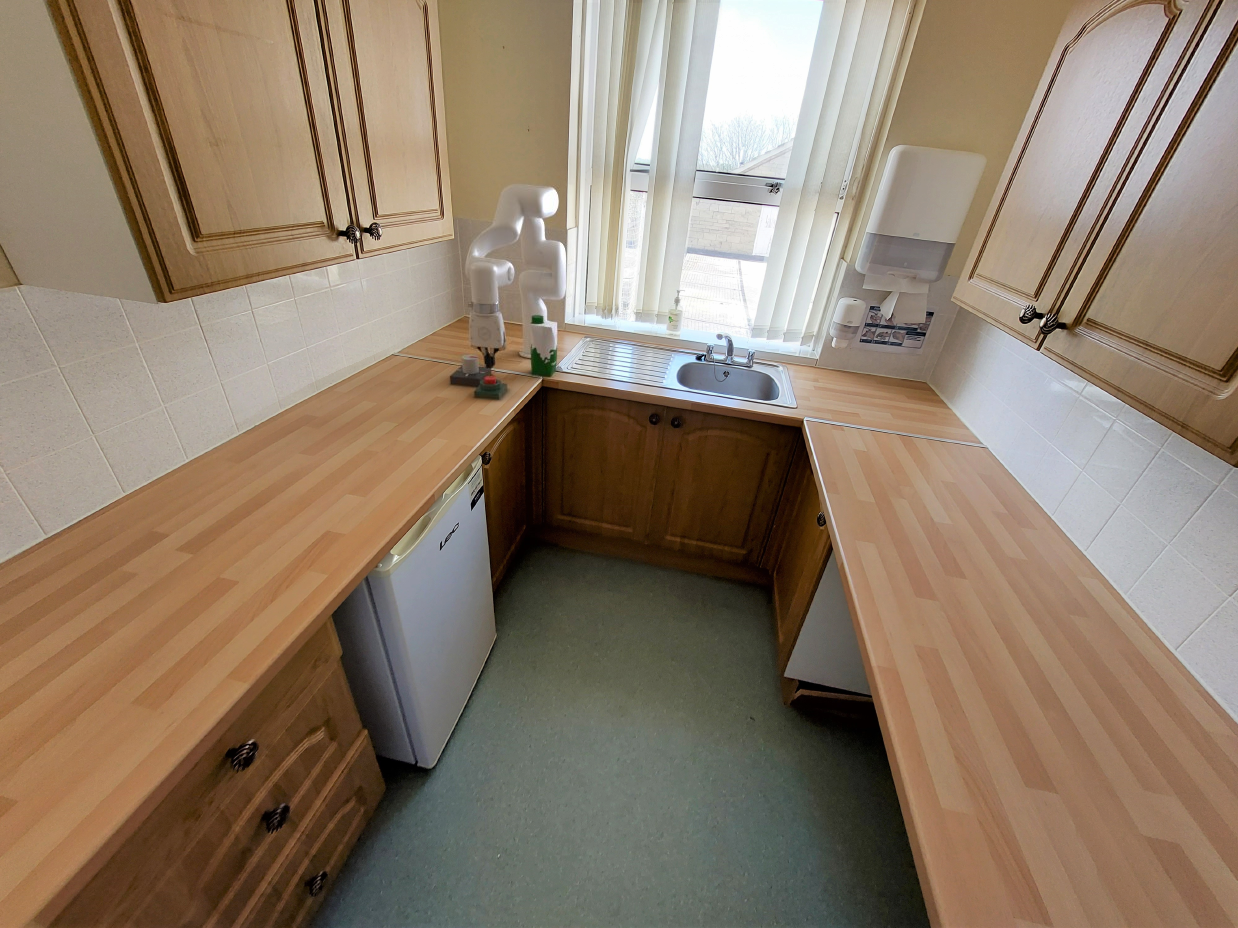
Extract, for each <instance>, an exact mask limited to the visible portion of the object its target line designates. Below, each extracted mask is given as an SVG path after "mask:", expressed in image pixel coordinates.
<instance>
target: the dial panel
mask: <svg viewBox="0 0 1238 928" xmlns="http://www.w3.org/2000/svg"><path fill="white" fill-rule="evenodd" d="M478 366H479V372H478V373H475V374H466V373H464V372H463V367H462V365H461V366H459V368H457V369H456V370H455V371H453V372H452V373H451V374H450V375H449V383H450V385H452V386H461V387H472V388H477V387H478V386H479V385H480V381H481V380H483V379H484V378H485V377H487V376H492V369H490V368H486V366H482V365H481V366H480V365H478Z"/></svg>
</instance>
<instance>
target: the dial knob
mask: <svg viewBox="0 0 1238 928" xmlns="http://www.w3.org/2000/svg"><path fill="white" fill-rule="evenodd" d="M461 366H462V367H463V372H464V373H466V374H475V373H478V372H479V366H480V365H479V356H478V355H475V354H464V355H462V356H461Z"/></svg>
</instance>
